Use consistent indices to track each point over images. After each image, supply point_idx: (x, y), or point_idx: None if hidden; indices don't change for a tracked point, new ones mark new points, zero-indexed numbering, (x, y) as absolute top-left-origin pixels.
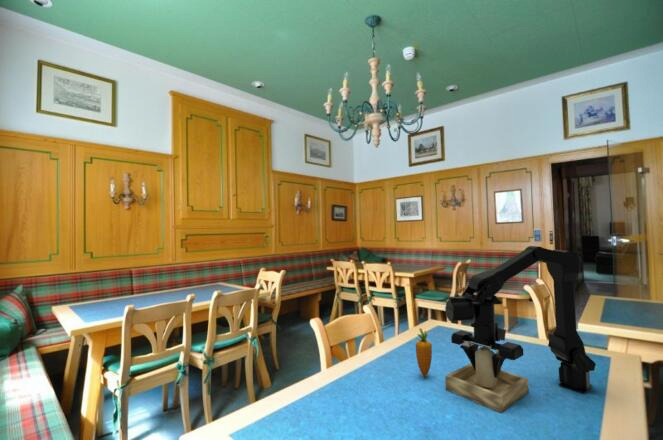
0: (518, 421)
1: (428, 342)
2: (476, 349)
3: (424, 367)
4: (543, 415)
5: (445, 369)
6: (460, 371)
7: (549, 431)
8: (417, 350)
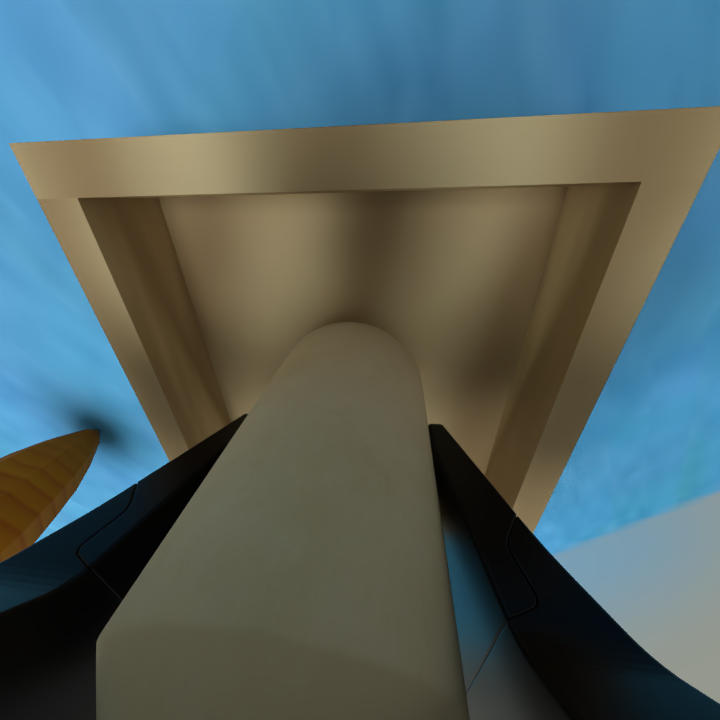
0: (572, 490)
1: None
2: (44, 636)
3: (67, 500)
4: (696, 388)
5: (17, 276)
6: (185, 440)
7: (705, 483)
8: None
